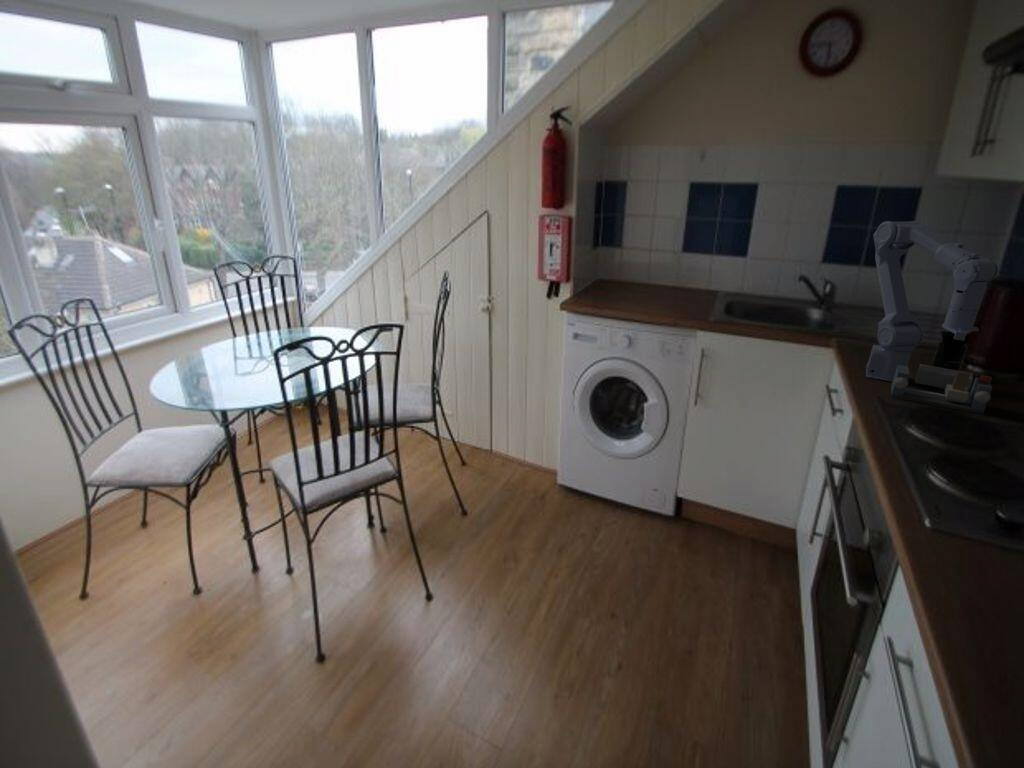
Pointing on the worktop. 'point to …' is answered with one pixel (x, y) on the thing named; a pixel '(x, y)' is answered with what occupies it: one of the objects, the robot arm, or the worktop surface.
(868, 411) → the worktop surface
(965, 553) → the worktop surface
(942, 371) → the skincare box
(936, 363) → the supplement bottle
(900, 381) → the rail stand
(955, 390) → the carriage
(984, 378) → the plunger
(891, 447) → the worktop surface
